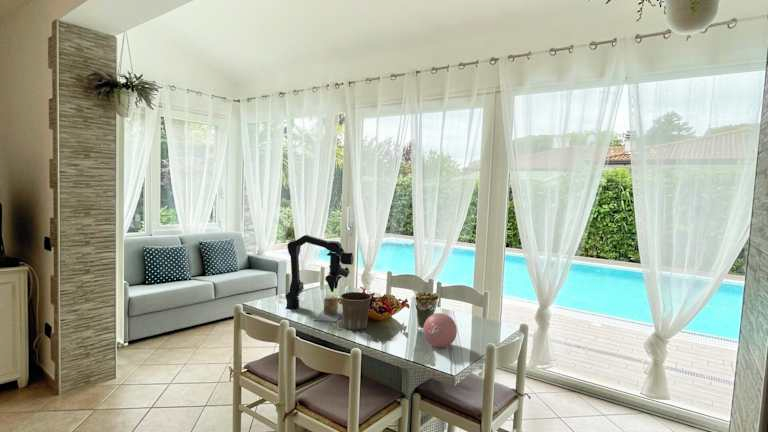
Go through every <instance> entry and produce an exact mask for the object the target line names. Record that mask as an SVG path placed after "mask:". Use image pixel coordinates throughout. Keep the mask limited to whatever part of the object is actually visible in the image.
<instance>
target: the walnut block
mask: <svg viewBox="0 0 768 432" xmlns="http://www.w3.org/2000/svg"><path fill="white" fill-rule="evenodd" d="M323 310H324V314H329V315H336V314H337V313H338V310H339V297H336V296H324V300H323Z"/></svg>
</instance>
